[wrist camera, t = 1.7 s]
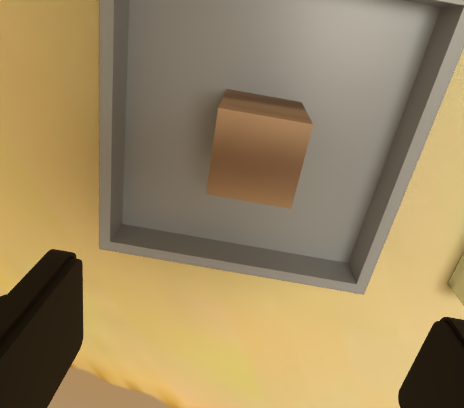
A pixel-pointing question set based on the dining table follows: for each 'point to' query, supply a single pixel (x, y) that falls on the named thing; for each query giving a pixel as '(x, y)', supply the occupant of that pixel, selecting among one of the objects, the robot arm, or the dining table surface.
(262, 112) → the walnut block
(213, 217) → the grey bin
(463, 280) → the pale green bin
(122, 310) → the dining table surface
